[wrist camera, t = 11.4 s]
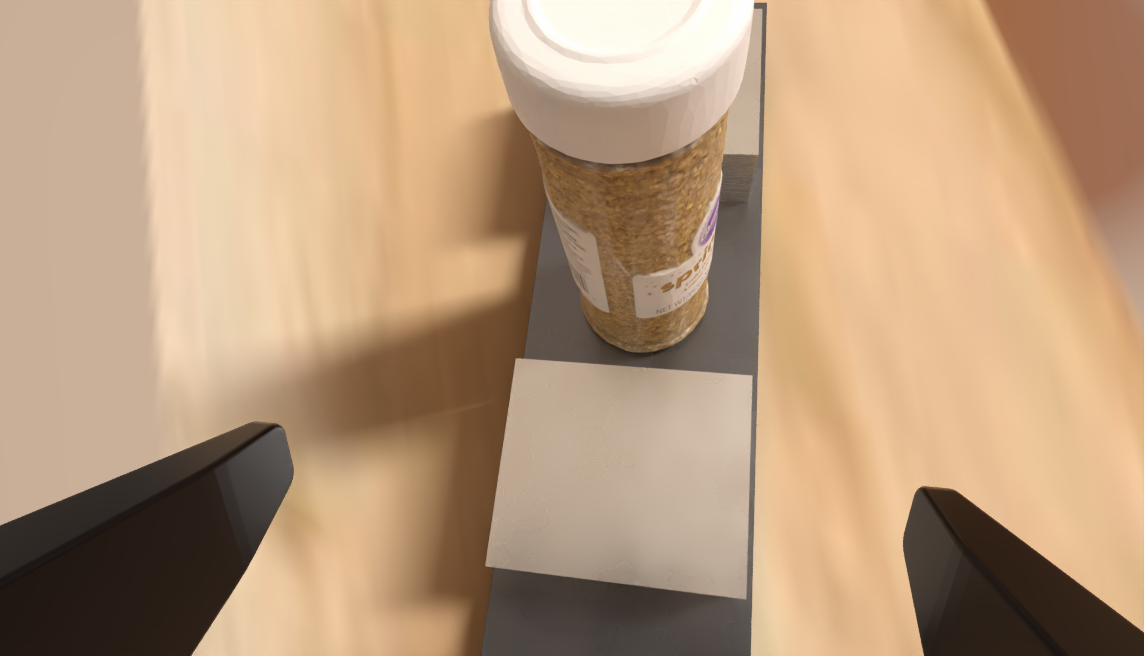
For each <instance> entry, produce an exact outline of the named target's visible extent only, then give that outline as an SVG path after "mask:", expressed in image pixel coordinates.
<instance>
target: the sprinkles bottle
mask: <svg viewBox="0 0 1144 656" xmlns="http://www.w3.org/2000/svg"><path fill="white" fill-rule="evenodd" d="M753 10H754V0H490V8H489V27H490V34H491V39H492V43H493V47H494V50H495V54H496V58H497V62H498V65H499V68H500V71H501V75H502V78H503V81H504V84H505V87H506V90H507V93H508V96H509V100H510V102H511V104H512V106H513V109H514V111H515V113H516V114H517V116H518V118H519V119H520V120H521V122H522V123H523V125H524V127H525V129H526V130H527V132H528V133H529V134H530V136H531V139H532V141H533V144H534V147H535V150H536V154H537V157H538V160H539V164H540V168H541V171H542V178H543V184H544V188H545V192H546V195H547V198H548V201H549V204H550V207H551V210H552V213H553V216H554V219H555V222H556V225H557V229H558V232H559V235H560V238H561V241H562V244H563V247H564V250H565V253H566V256H567V259H568V262H569V266H570V269H571V272H572V275H573V278H574V280H575V282H576V284H577V286H578V287H579V289H580V297H581V306H582V309H583V313H584V315H585V317H586V318H587V320H588V322H589V324H590V326H591V327H592V329H593V330H594V331H595V332H596V333H597V334H598V335H599V336H601V337H602V338H603V339H605V341H606V342H608V343H609V344H612V345H615V346H617V347H618V348H621V349H624V350H626V351H629V352H641V353H644V352H654V351H657V350H660V349H664V348H667V347H670V346H673V345H674V344H676V343H678V342H680V341H681V340H683V339H684V338H685V337H686V336H688V335H689V334H690V333H691V332H692V331H693V329H694V328H695V326H696V325H697V324H698V323H699V321H700V319H701V318H702V316H703V315H704V313H705V309H706V305H707V303H708V290H709V285H708V280H707V277H708V271H709V268H710V264H711V260H712V253H713V244H714V236H715V228H716V222H717V215H718V207H719V197H720V189H721V183H722V170H721V166H722V161H723V153H724V147H725V136H726V130H727V118H728V112H729V108H730V106H731V104H732V102H733V101H734V99H735V97H736V95H737V93H738V91H739V88H740V85H741V82H742V80H743V75H744V70H745V65H746V59H747V54H748V48H749V41H750V33H751V25H752V18H753Z"/></svg>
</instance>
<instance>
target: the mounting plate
mask: <svg viewBox="0 0 1144 656" xmlns="http://www.w3.org/2000/svg"><path fill="white" fill-rule="evenodd" d="M766 13H767V3H754V10H753V18H752V25H751V33H750V41H749V48H748V54H747V59H746V65H745V70H744V75H743V80H742V82H741V85H740V88H739V91H738V93H737V95H736V97H735V99H734V101H733V102H732V104H731V106H730V108H729V112H728V118H727V130H726V136H725V147H724V153H723V161H722V166H721V170H722V183H721V189H720V197H719V207H718V215H717V222H716V228H715V236H714V244H713V253H712V260H711V264H710V268H709V271H708V277H707V280H708V285H709V290H708V303H707V305H706V309H705V313H704V315H703V316H702V318H701V319H700V321H699V323H698V324H697V325H696V326H695V328H694V329H693V331H692V332H691V333H690V334H689V335H688V336H686V337H685V338H684V339H683V340H681V341H680V342H678V343H676V344H674V345H673V346H670V347H667V348H664V349H660V350H657V351H654V352H644V353H641V352H629V351H626V350H624V349H621V348H618V347H617V346H615V345H612V344H609V343H608V342H606V341H605V339H603V338H602V337H601V336H599V335H598V334H597V333H596V332H595V331H594V330H593V329H592V327H591V326H590V324H589V322H588V320H587V318H586V317H585V315H584V313H583V309H582V306H581V297H580V289H579V287H578V286H577V284H576V282H575V280H574V278H573V275H572V272H571V269H570V266H569V262H568V259H567V256H566V253H565V250H564V247H563V244H562V241H561V238H560V235H559V232H558V229H557V225H556V222H555V219H554V216H553V213H552V210H551V207H550V204H549V201H548V198H547V199H546V206H545V213H544V220H543V227H542V234H541V241H540V248H539V255H538V262H537V269H536V275H535V282H534V289H533V296H532V303H531V310H530V317H529V324H528V331H527V338H526V345H525V352H524V359H521V358H516V361H515V367H514V374H513V381H512V388H511V394H510V401H509V408H508V415H507V422H506V428H505V435H504V442H503V449H502V455H501V462H500V469H499V476H498V482H497V489H496V496H495V503H494V510H493V516H492V523H491V530H490V537H489V543H488V550H487V557H486V564H485V566H487V567H494V568H493V575H492V582H491V589H490V596H489V603H488V609H487V616H486V623H485V630H484V637H483V644H482V651H481V656H751V617H752V576H753V536H754V496H755V456H756V415H757V375H758V335H759V295H760V255H761V214H762V174H763V134H764V94H765V54H766Z"/></svg>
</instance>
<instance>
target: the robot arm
mask: <svg viewBox="0 0 1144 656" xmlns="http://www.w3.org/2000/svg"><path fill="white" fill-rule="evenodd" d="M293 474H294V468H293V463H292V459H291V455H290V450H289V446H288V442H287V438H286V434H285V431H284V429H283V428H282V426H280V425H279V424H276V423H267V422H251V423H248V424H246V425H244V426H241V427H239V428H236V429H234V430H231V431H229V432H227V433H224V434H222V435H219V436H217V437H214V438H212V439H210V440H207V441H205V442H202V443H200V444H197V445H195V446H192V447H190V448H188V449H185V450H183V451H180V452H178V453H175V454H173V455H171V456H168V457H166V458H163V459H161V460H158V461H156V462H154V463H151V464H149V465H146V466H144V467H141V468H139V469H137V470H134V471H132V472H129V473H127V474H124V475H122V476H120V477H117V478H115V479H112V480H110V481H107V482H105V483H103V484H100V485H98V486H95V487H93V488H90V489H88V490H86V491H83V492H81V493H78V494H76V495H74V496H71V497H68V498H66V499H63V500H61V501H59V502H56V503H54V504H51V505H49V506H46V507H44V508H42V509H39V510H37V511H34V512H32V513H30V514H27V515H25V516H22V517H20V518H17V519H15V520H12V521H10V522H8V523H5V524H3V525H1V526H0V656H191V655H192V654H193V652H194V651H195V649H196V648H197V646H198V644H199V643H200V641H201V640H202V638H203V637H204V635H205V634H206V632H207V631H208V629H209V628H210V626H211V624H212V623H213V621H214V620H215V618H216V617H217V615H218V614H219V612H220V611H221V609H222V607H223V606H224V604H225V603H226V601H227V600H228V598H229V597H230V595H231V594H232V592H233V590H234V589H235V587H236V586H237V584H238V583H239V581H240V579H241V578H242V576H243V574H244V573H245V571H246V569H247V568H248V566H249V564H250V562H251V560H252V559H253V557H254V555H255V553H256V551H257V549H258V547H259V545H260V543H261V541H262V539H263V537H264V535H265V534H266V532H267V530H268V528H269V526H270V524H271V522H272V520H273V518H274V516H275V514H276V512H277V510H278V508H279V506H280V505H281V503H282V501H283V499H284V497H285V495H286V493H287V491H288V489H289V487H290V485H291V483H292V479H293ZM903 551H904V557H905V562H906V567H907V572H908V577H909V582H910V588H911V593H912V598H913V603H914V608H915V613H916V618H917V623H918V628H919V633H920V638H921V644H922V648H923V653H924V656H1144V632H1143V631H1141V630H1140V629H1139V628H1137V627H1136V626H1135V625H1133V624H1132V623H1131V622H1129V621H1128V620H1127V619H1125V618H1124V617H1123V616H1121V615H1120V614H1119V613H1117V612H1116V611H1115V610H1113V609H1112V608H1111V607H1109V606H1108V605H1107V604H1106V603H1104V602H1103V601H1102V600H1100V599H1099V598H1098V597H1096V596H1095V595H1094V594H1092V593H1091V592H1090V591H1088V590H1087V589H1086V588H1084V587H1083V586H1082V585H1080V584H1079V583H1078V582H1076V581H1075V580H1074V579H1072V578H1071V577H1070V576H1068V575H1067V574H1066V573H1064V572H1063V571H1062V570H1061V569H1059V568H1058V567H1057V566H1055V565H1054V564H1053V563H1051V562H1050V561H1049V560H1047V559H1046V558H1045V557H1043V556H1042V555H1041V554H1039V553H1038V552H1037V551H1035V550H1034V549H1033V548H1031V547H1030V546H1029V545H1027V544H1026V543H1025V542H1023V541H1022V540H1021V539H1019V538H1018V537H1017V536H1016V535H1014V534H1013V533H1012V532H1010V531H1009V530H1008V529H1006V528H1005V527H1004V526H1002V525H1001V524H1000V523H998V522H997V521H996V520H994V519H993V518H992V517H990V516H989V515H988V514H986V513H985V512H984V511H982V510H981V509H980V508H978V507H977V506H976V505H974V504H973V503H972V502H971V501H969V500H968V499H967V498H965V497H964V496H963V495H961V494H960V493H958V492H957V491H955V490H953V489H949V488H939V487H928V486H922V487H920V488H919V489H918V490H917V491H916V493H915V495H914V498H913V502H912V506H911V509H910V513H909V517H908V521H907V524H906V528H905V532H904V537H903Z"/></svg>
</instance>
